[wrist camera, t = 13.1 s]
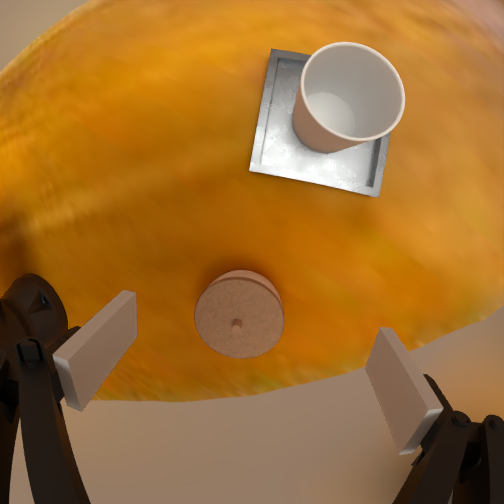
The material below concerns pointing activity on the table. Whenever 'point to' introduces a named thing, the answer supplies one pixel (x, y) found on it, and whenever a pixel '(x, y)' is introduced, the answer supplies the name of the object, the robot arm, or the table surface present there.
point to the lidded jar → (240, 314)
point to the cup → (346, 98)
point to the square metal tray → (298, 155)
